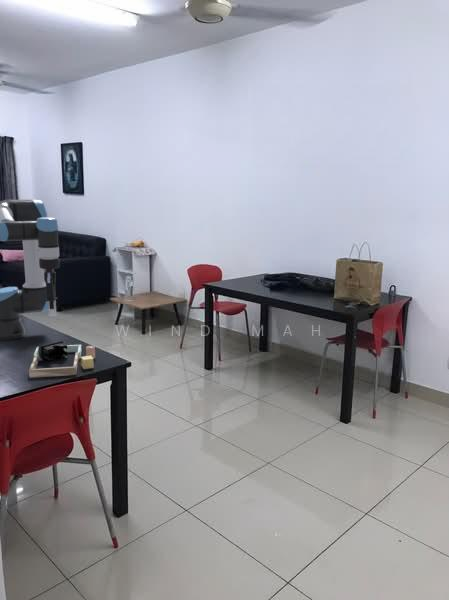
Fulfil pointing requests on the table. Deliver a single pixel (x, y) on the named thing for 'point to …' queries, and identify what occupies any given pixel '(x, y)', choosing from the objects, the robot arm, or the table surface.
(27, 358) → the table surface
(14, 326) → the robot arm
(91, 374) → the table surface
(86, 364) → the mustard block
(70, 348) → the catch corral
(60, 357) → the black lumpy piece
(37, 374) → the beige wooden tray
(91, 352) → the pinkish brown cylinder
